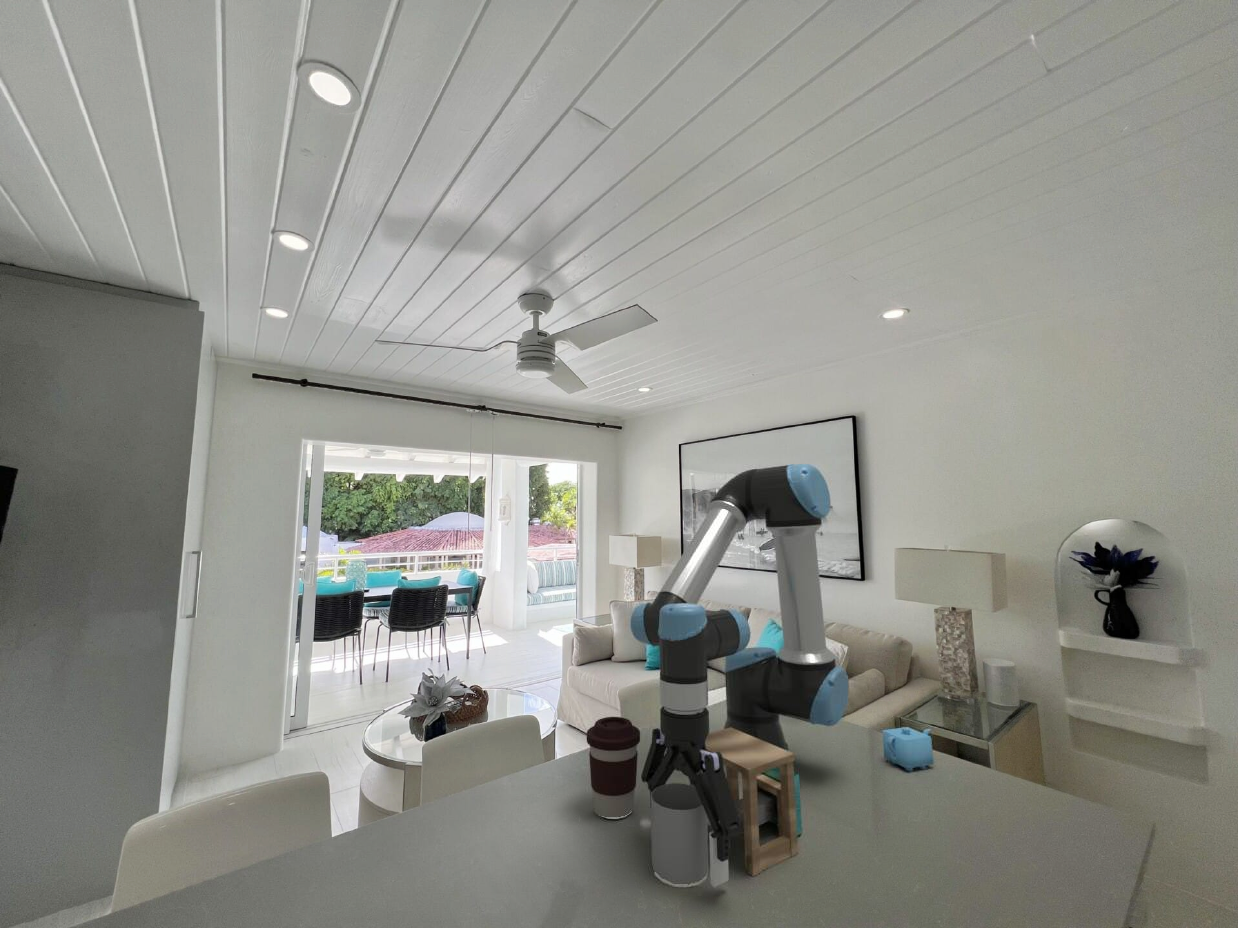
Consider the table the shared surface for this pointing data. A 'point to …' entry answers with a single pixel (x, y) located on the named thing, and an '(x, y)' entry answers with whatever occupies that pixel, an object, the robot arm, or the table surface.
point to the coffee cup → (613, 765)
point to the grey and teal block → (768, 804)
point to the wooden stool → (751, 762)
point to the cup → (679, 834)
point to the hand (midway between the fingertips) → (687, 857)
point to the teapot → (908, 747)
